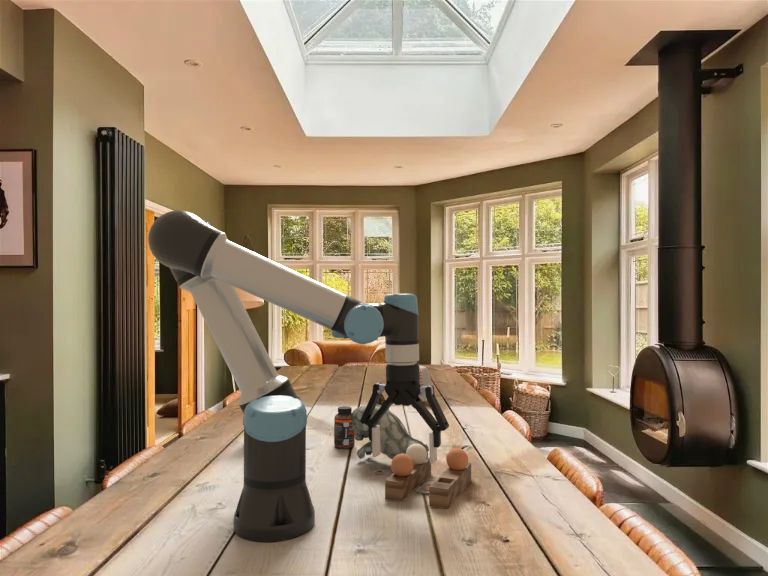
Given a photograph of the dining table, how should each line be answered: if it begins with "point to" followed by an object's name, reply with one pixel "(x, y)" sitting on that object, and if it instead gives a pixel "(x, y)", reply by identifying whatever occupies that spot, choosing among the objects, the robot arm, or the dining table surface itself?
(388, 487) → the rack
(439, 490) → the rack
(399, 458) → the rust ball
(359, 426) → the figurine
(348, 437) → the supplement bottle
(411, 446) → the cream ball
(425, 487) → the card
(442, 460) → the dining table surface
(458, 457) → the rust ball
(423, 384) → the white patterned rounded slab
